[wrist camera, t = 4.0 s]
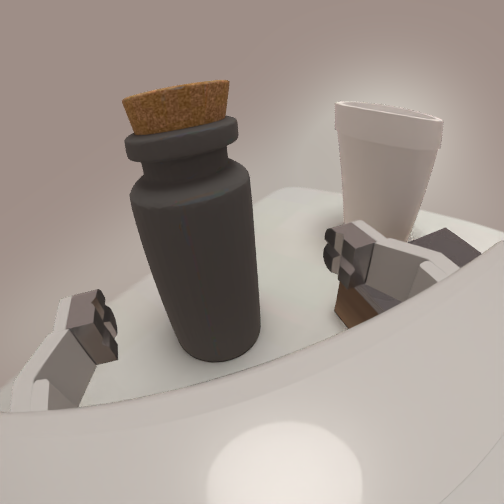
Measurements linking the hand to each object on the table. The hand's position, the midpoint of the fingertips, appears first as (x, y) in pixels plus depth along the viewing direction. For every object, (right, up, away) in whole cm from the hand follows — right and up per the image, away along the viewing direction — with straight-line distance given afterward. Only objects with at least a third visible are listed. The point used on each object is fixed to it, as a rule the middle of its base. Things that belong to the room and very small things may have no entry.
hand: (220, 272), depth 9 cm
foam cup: (+13, +2, +17) cm, 22 cm away
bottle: (-1, -5, +9) cm, 11 cm away
